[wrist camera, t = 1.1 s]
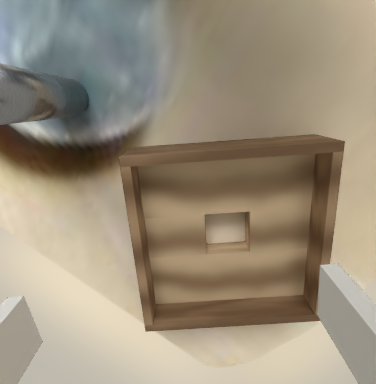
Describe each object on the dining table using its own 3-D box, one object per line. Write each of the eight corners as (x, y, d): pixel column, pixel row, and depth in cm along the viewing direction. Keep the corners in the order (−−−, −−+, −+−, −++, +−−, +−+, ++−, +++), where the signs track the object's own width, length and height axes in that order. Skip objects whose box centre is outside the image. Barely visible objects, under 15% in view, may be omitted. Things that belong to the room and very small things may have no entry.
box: (130, 147, 31) (118, 157, 26) (315, 134, 31) (344, 141, 25) (151, 297, 38) (145, 331, 33) (302, 288, 38) (322, 320, 32)
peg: (48, 80, 29) (-69, 59, 16) (84, 77, 29) (-2, 54, 15) (56, 117, 30) (-45, 128, 17) (91, 115, 30) (16, 124, 17)
